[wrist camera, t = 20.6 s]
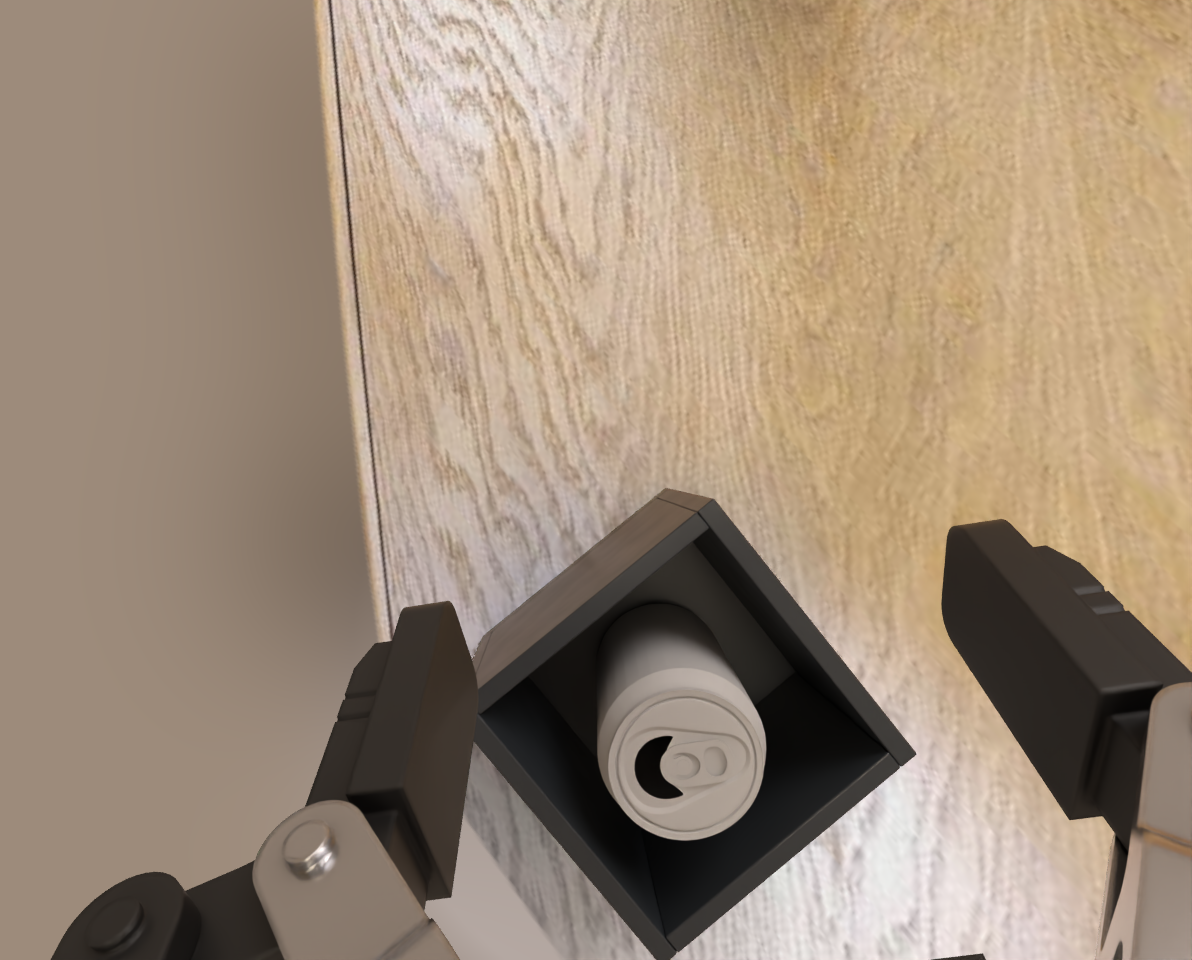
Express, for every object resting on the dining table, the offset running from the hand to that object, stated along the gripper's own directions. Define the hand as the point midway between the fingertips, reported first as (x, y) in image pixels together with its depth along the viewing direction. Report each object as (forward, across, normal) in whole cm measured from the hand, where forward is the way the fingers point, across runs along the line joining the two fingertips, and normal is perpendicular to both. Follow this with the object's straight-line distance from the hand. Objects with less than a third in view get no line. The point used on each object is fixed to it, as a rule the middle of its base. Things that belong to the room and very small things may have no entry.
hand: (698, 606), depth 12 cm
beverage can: (+20, +1, +20) cm, 28 cm away
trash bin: (+21, +2, +20) cm, 29 cm away
